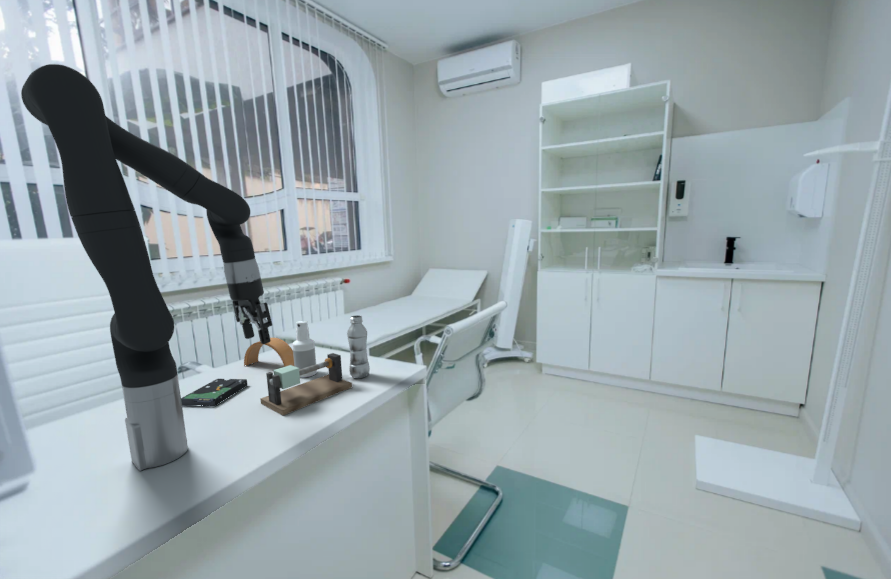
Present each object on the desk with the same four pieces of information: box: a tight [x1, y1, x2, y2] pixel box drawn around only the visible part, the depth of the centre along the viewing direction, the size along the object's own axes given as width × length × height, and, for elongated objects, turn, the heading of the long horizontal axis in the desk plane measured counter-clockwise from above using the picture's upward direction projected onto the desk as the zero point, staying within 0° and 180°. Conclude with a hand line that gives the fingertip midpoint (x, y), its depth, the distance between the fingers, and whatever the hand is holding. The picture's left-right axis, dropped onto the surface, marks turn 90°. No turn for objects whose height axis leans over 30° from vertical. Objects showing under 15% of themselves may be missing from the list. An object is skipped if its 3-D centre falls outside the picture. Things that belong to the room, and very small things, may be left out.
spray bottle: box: [292, 320, 318, 379], centre depth 126 cm, size 7×7×18 cm
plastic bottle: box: [346, 315, 371, 379], centre depth 122 cm, size 6×7×20 cm
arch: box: [243, 337, 295, 367], centre depth 135 cm, size 6×20×10 cm, turn 68°
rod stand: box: [259, 352, 353, 416], centre depth 110 cm, size 22×12×10 cm, turn 141°
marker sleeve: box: [272, 365, 301, 390], centre depth 105 cm, size 5×4×4 cm
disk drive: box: [181, 378, 248, 407], centre depth 112 cm, size 10×3×15 cm
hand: (257, 340), depth 97 cm, fingers open, 8 cm apart
